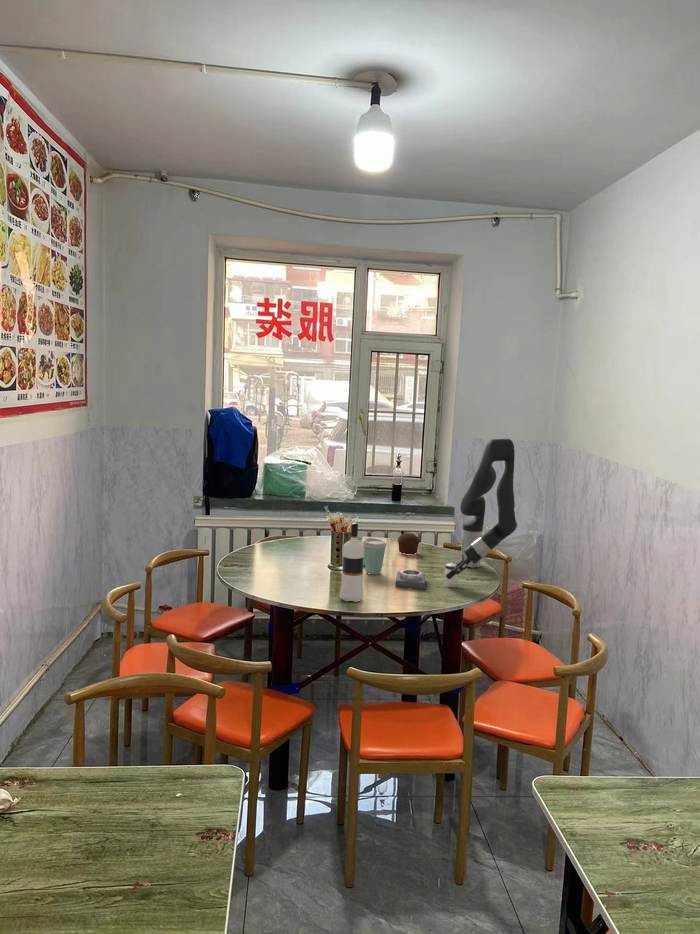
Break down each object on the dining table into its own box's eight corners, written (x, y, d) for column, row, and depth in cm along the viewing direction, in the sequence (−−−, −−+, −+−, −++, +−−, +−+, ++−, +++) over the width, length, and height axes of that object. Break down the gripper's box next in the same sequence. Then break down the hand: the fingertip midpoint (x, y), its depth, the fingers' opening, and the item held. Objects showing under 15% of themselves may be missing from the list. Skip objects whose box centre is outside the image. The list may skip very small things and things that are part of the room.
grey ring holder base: (397, 578, 296) (397, 567, 295) (424, 580, 294) (425, 569, 294) (395, 587, 282) (396, 575, 281) (424, 589, 281) (425, 578, 280)
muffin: (402, 549, 349) (403, 530, 348) (422, 552, 345) (423, 533, 343) (393, 553, 339) (394, 534, 338) (414, 557, 334) (415, 537, 333)
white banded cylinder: (444, 583, 291) (445, 562, 290) (457, 584, 291) (458, 563, 290) (444, 587, 286) (445, 566, 285) (457, 588, 285) (459, 567, 284)
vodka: (334, 598, 264) (337, 522, 260) (350, 593, 271) (354, 519, 267) (351, 604, 258) (355, 526, 254) (368, 599, 264) (372, 523, 261)
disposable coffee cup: (389, 572, 304) (390, 539, 302) (377, 578, 295) (379, 544, 293) (368, 568, 309) (369, 536, 307) (356, 573, 300) (358, 540, 298)
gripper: (470, 539, 292) (440, 564, 295) (472, 547, 278) (441, 573, 281) (482, 552, 292) (452, 577, 295) (484, 561, 278) (453, 587, 281)
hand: (447, 575), depth 288 cm, fingers closed on white banded cylinder, 5 cm apart
